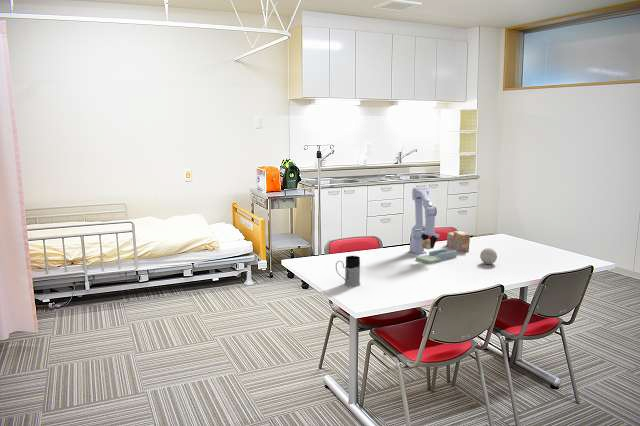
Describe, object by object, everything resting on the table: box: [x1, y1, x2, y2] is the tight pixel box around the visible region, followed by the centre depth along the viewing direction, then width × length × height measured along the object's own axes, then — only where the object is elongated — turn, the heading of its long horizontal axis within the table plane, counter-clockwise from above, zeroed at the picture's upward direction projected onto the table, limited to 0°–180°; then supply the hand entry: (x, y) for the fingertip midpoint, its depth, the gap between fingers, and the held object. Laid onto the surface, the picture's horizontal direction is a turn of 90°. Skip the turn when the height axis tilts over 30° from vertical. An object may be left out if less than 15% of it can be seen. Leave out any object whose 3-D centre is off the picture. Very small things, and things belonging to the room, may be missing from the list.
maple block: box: [422, 238, 434, 250], centre depth 329 cm, size 5×5×5 cm
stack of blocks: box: [446, 230, 471, 253], centre depth 364 cm, size 21×6×12 cm, turn 13°
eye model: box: [479, 247, 498, 265], centre depth 324 cm, size 10×10×10 cm
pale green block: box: [415, 247, 457, 265], centre depth 335 cm, size 12×27×4 cm, turn 126°
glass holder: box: [335, 255, 361, 288], centre depth 280 cm, size 9×14×15 cm, turn 110°
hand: (428, 246), depth 329 cm, fingers closed on maple block, 5 cm apart
